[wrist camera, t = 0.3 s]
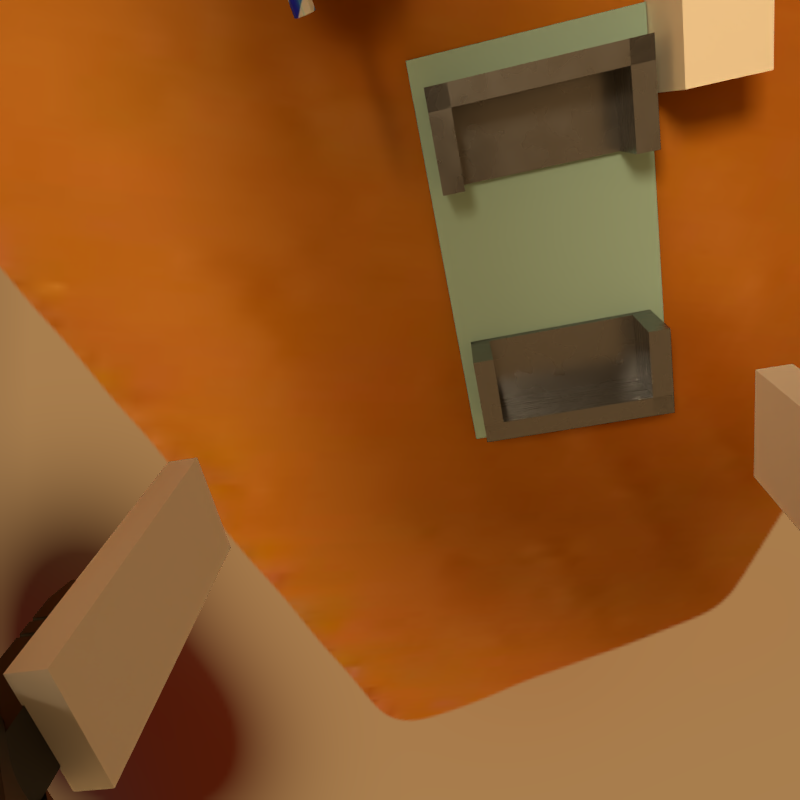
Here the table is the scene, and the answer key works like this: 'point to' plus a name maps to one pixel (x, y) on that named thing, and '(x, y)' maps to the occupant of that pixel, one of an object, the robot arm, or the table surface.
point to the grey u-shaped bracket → (546, 113)
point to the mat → (542, 212)
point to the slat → (710, 40)
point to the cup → (301, 7)
